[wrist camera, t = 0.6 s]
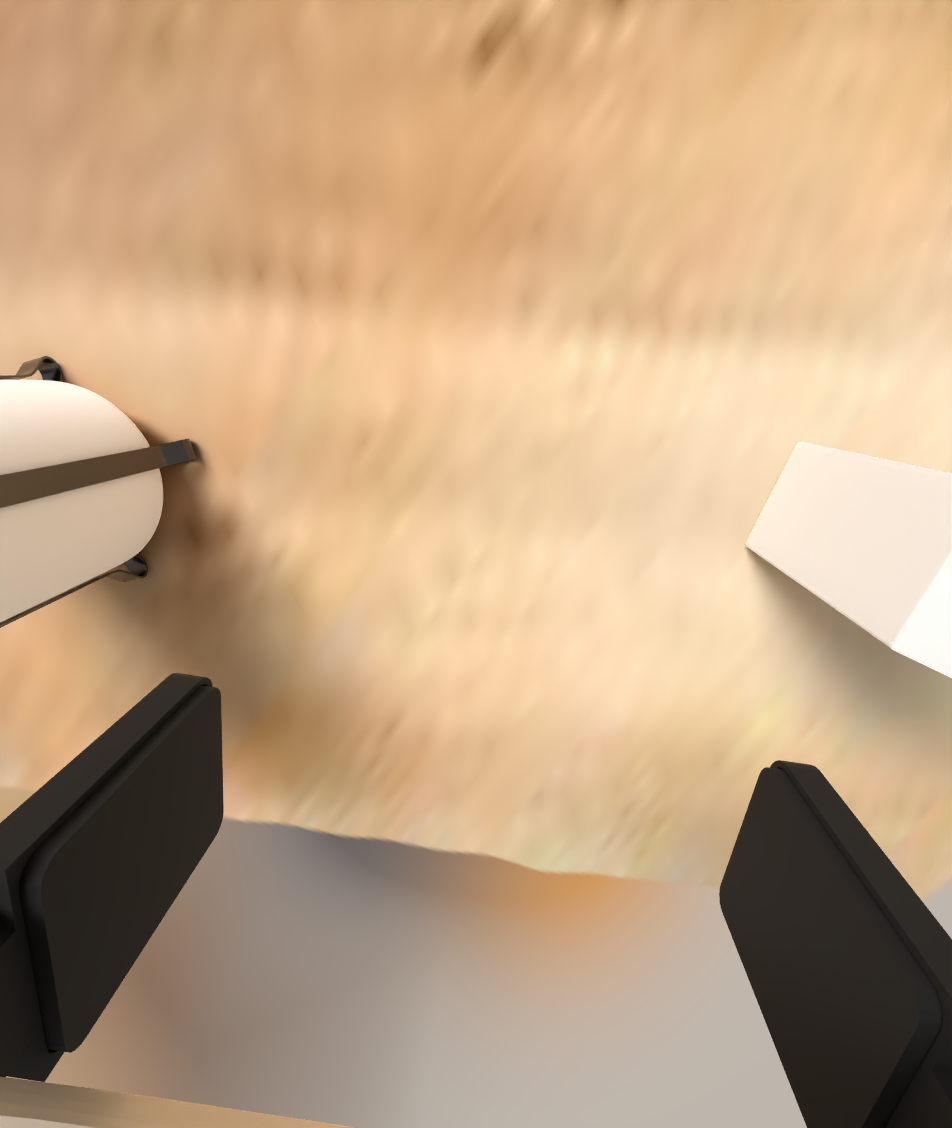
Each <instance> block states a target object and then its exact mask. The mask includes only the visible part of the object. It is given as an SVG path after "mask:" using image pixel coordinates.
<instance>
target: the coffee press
mask: <svg viewBox="0 0 952 1128" xmlns="http://www.w3.org/2000/svg"><path fill="white" fill-rule="evenodd" d="M37 370H39V371H40V373H41V375H42V377H43V380H19V379H23V378H26V377H29V376H32V375H33V374H34V373H35V372H36V371H37ZM62 376H63V375H62V371H61V368H60V366H59V365H58V364H57V362H56V361H54V360H53V359H52V358H50V357H47V356H44V357H41V358H37V359H34V360H31V361H27V362H24V363H23V364H22V366H21V367H20V369H19V371H18V372H17V374H16V375H15V376H0V628H1V627H3V626H5V625H7V624H9V623H11V622H13V621H15V620H17V619H19V618H21V617H23V616H25V615H27V614H29V613H32V612H34V611H36V610H38V609H40V608H42V607H44V606H46V605H48V604H50V603H52V602H54V601H56V600H58V599H60V598H62V597H64V596H66V595H68V594H71V593H73V592H75V591H77V590H79V589H81V588H83V587H85V586H87V585H89V584H91V583H93V582H95V581H97V580H99V579H101V578H104V577H110V578H113V579H116V580H119V581H122V582H127V581H131V580H136V579H140V578H144V577H145V576H146V575H147V572H148V567H147V564H146V562H145V560H144V559H143V558H141V557H140V556H138V555H137V553H139V552H140V551H141V550H142V549H143V548H144V547H145V546H146V544H147V543H148V542H149V541H150V539H151V538H152V536H153V534H154V532H155V530H156V528H157V526H158V523H159V520H160V517H161V513H162V507H163V484H162V478H161V473H160V470H159V468H162V467H166V466H170V465H174V464H178V463H182V462H186V461H190V460H193V459H197V458H196V455H195V452H194V450H193V447H192V445H191V442H190V440H189V439H185V440H180V441H176V442H171V443H167V444H162V445H158V446H153V447H150V445H149V444H148V442H147V440H146V439H145V437H144V436H143V434H142V433H141V432H140V430H139V429H138V428H137V426H136V425H135V424H134V423H133V422H132V421H131V420H130V419H129V418H128V417H127V416H126V415H125V414H124V413H123V412H122V411H121V410H120V409H118V408H117V407H116V406H115V405H113V404H112V403H110V402H109V401H107V400H106V399H104V398H103V397H101V396H99V395H97V394H96V393H94V392H91V391H89V390H87V389H85V388H82V387H79V386H76V385H73V384H69V383H64V382H61V381H62ZM122 563H125V564H126V565H127V566H128V568H129V571H130V572H127V571H123V570H115V571H111V572H107V571H109V570H111V569H113V568H115V567H117V566H118V565H120V564H122ZM104 572H107V573H104Z"/></svg>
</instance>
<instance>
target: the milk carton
mask: <svg viewBox="0 0 952 1128" xmlns="http://www.w3.org/2000/svg"><path fill="white" fill-rule="evenodd" d="M746 547H748V548H749V549H750V550H752V551H753V552H755V553H756V554H757V555H759V556H760V557H762V558H763V559H765V560H766V561H767V562H769V563H770V564H772V565H773V566H775V567H776V568H777V569H779V570H780V571H782V572H783V573H785V574H786V575H787V576H789V577H790V578H792V579H793V580H794V581H796V582H797V583H799V584H800V585H802V586H803V587H804V588H806V589H807V590H809V591H810V592H812V593H813V594H814V595H816V596H817V597H819V598H820V599H821V600H823V601H824V602H826V603H827V604H829V605H830V606H831V607H833V608H834V609H836V610H837V611H839V612H840V613H841V614H843V615H844V616H846V617H847V618H848V619H850V620H851V621H853V622H854V623H856V624H857V625H858V626H860V627H861V628H863V629H864V630H866V631H867V632H868V633H870V634H871V635H873V636H874V637H875V638H877V639H878V640H880V641H881V642H883V643H884V644H885V645H887V646H888V647H890V648H891V649H892V650H894V651H896V652H898V653H900V654H902V655H904V656H906V657H908V658H910V659H912V660H915V661H917V662H919V663H921V664H923V665H925V666H927V667H929V668H931V669H933V670H935V671H937V672H940V673H942V674H944V675H946V676H948V677H950V678H952V473H949V472H945V471H940V470H935V469H930V468H926V467H921V466H916V465H911V464H907V463H902V462H897V461H892V460H888V459H883V458H878V457H873V456H869V455H864V454H859V453H854V452H849V451H845V450H840V449H835V448H830V447H826V446H821V445H816V444H811V443H807V442H798V443H797V444H796V446H795V448H794V450H793V451H792V453H791V455H790V457H789V459H788V461H787V463H786V465H785V467H784V469H783V471H782V473H781V475H780V477H779V479H778V481H777V482H776V484H775V486H774V488H773V490H772V492H771V494H770V496H769V498H768V500H767V502H766V504H765V506H764V508H763V510H762V512H761V514H760V516H759V517H758V519H757V521H756V523H755V525H754V527H753V529H752V531H751V533H750V535H749V537H748V539H747V541H746Z"/></svg>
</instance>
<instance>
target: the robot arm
mask: <svg viewBox="0 0 952 1128" xmlns="http://www.w3.org/2000/svg"><path fill="white" fill-rule="evenodd" d="M222 818H223V768H222V723H221V693H220V690H219V689H218V688H215V687H212V683H211V680H210V679H208V678H206V677H199V676H192V675H186V674H179V673H174V674H171V675H170V676H168V677H167V678H166V679H165V680H164V681H163V682H161V683H160V684H159V685H158V686H157V687H156V688H155V689H153V690H152V691H151V692H150V693H149V694H148V695H147V696H145V697H144V698H143V699H142V700H141V701H140V702H139V703H137V704H136V705H135V706H134V707H133V708H132V709H131V710H129V711H128V712H127V713H126V714H125V715H124V716H122V717H121V718H120V719H119V720H118V721H117V722H116V723H114V724H113V725H112V726H111V727H110V728H109V729H108V730H106V731H105V732H104V733H103V734H102V735H101V736H100V737H98V738H97V739H96V740H95V741H94V742H93V743H92V744H90V745H89V746H88V747H87V748H86V749H85V750H84V751H82V752H81V753H80V754H79V755H78V756H77V757H75V758H74V759H73V760H72V761H71V762H70V763H69V764H67V765H66V766H65V767H64V768H63V769H62V770H61V771H59V772H58V773H57V774H56V775H55V776H54V777H53V778H51V779H50V780H49V781H48V782H47V783H46V784H45V785H43V786H42V787H41V788H40V789H39V790H38V791H37V792H35V793H34V794H33V795H32V796H31V797H30V798H29V799H28V800H26V801H25V802H24V803H23V804H22V805H20V806H19V807H18V808H17V809H16V810H15V811H14V812H12V813H11V814H10V815H9V816H8V817H7V818H6V819H4V820H3V821H2V822H1V823H0V1128H355V1127H349V1126H342V1125H335V1124H329V1123H322V1122H315V1121H309V1120H301V1119H296V1118H289V1117H283V1116H275V1115H269V1114H263V1113H256V1112H249V1111H243V1110H236V1109H229V1108H223V1107H216V1106H209V1105H203V1104H196V1103H189V1102H183V1101H176V1100H169V1099H163V1098H157V1097H150V1096H143V1095H136V1094H130V1093H122V1092H115V1091H107V1090H99V1089H91V1088H84V1087H76V1086H68V1085H60V1084H52V1083H45V1080H46V1079H47V1077H48V1076H49V1074H50V1073H51V1071H52V1070H53V1068H54V1067H55V1065H56V1064H57V1062H58V1061H59V1059H60V1058H61V1056H62V1055H63V1053H64V1052H70V1053H71V1052H72V1051H74V1050H76V1049H77V1048H78V1047H79V1046H80V1045H81V1044H82V1042H83V1041H84V1039H85V1038H86V1036H87V1035H88V1034H89V1032H90V1030H91V1029H92V1027H93V1026H94V1024H95V1023H96V1021H97V1020H98V1018H99V1017H100V1015H101V1013H102V1012H103V1010H104V1009H105V1007H106V1006H107V1004H108V1003H109V1001H110V999H111V998H112V996H113V995H114V993H115V992H116V990H117V989H118V987H119V986H120V984H121V982H122V981H123V979H124V978H125V976H126V975H127V973H128V972H129V970H130V968H131V967H132V965H133V964H134V962H135V961H136V959H137V957H138V956H139V954H140V953H141V951H142V950H143V948H144V947H145V945H146V944H147V942H148V940H149V939H150V937H151V936H152V934H153V933H154V931H155V930H156V928H157V927H158V925H159V923H160V922H161V920H162V919H163V917H164V916H165V914H166V912H167V911H168V909H169V908H170V906H171V905H172V903H173V902H174V900H175V899H176V897H177V895H178V894H179V892H180V891H181V889H182V888H183V886H184V885H185V883H186V882H187V880H188V878H189V877H190V875H191V874H192V872H193V871H194V869H195V867H196V866H197V864H198V863H199V861H200V860H201V858H202V857H203V855H204V854H205V852H206V850H207V849H208V847H209V846H210V844H211V843H212V841H213V840H214V838H215V836H216V835H217V833H218V831H219V828H220V826H221V822H222ZM719 895H720V905H721V909H722V912H723V915H724V918H725V920H726V923H727V925H728V928H729V930H730V932H731V935H732V938H733V940H734V943H735V945H736V948H737V951H738V953H739V956H740V958H741V961H742V963H743V966H744V968H745V971H746V973H747V976H748V978H749V981H750V983H751V986H752V989H753V991H754V994H755V996H756V998H757V1001H758V1004H759V1006H760V1009H761V1011H762V1014H763V1017H764V1019H765V1022H766V1024H767V1027H768V1029H769V1032H770V1034H771V1037H772V1039H773V1042H774V1045H775V1047H776V1049H777V1052H778V1055H779V1057H780V1060H781V1062H782V1065H783V1067H784V1070H785V1072H786V1075H787V1078H788V1080H789V1082H790V1085H791V1088H792V1090H793V1093H794V1095H795V1098H796V1100H797V1103H798V1105H799V1108H800V1111H801V1113H802V1116H803V1118H804V1121H805V1123H806V1126H807V1128H952V939H951V938H950V937H949V935H948V934H947V933H946V931H945V930H944V929H943V928H942V926H941V925H940V924H939V923H938V921H937V920H936V919H935V917H934V916H933V915H932V914H931V912H930V911H929V910H928V909H927V907H926V906H925V905H924V903H923V902H922V901H921V899H920V898H919V897H918V896H917V894H916V893H915V892H914V891H913V889H912V888H911V887H910V885H909V884H908V883H907V882H906V880H905V879H904V878H903V876H902V875H901V874H900V873H899V871H898V870H897V869H896V868H895V866H894V865H893V864H892V862H891V861H890V860H889V859H888V857H887V856H886V855H885V853H884V852H883V851H882V850H881V848H880V847H879V846H878V844H877V843H876V842H875V841H874V839H873V838H872V837H871V836H870V834H869V833H868V832H867V830H866V829H865V828H864V827H863V825H862V824H861V823H860V821H859V820H858V819H857V818H856V816H855V815H854V814H853V813H852V811H851V810H850V809H849V807H848V806H847V805H846V804H845V802H844V801H843V800H842V798H841V797H840V796H839V795H838V793H837V792H836V791H835V790H834V788H833V787H832V786H831V784H830V783H829V782H828V781H827V779H826V778H825V777H824V775H823V774H822V773H821V772H820V770H818V769H817V768H816V767H815V766H812V765H808V764H801V763H794V762H787V761H780V760H779V761H775V762H774V763H773V764H772V765H771V767H770V768H764V769H763V770H762V771H761V773H760V775H759V777H758V780H757V783H756V786H755V789H754V792H753V794H752V797H751V800H750V803H749V806H748V809H747V812H746V814H745V817H744V820H743V823H742V826H741V829H740V832H739V834H738V837H737V840H736V843H735V846H734V849H733V851H732V854H731V857H730V860H729V863H728V866H727V869H726V871H725V874H724V877H723V880H722V883H721V886H720V894H719ZM6 1076H9V1077H16V1078H22V1079H28V1080H21V1079H13V1078H6ZM29 1080H34V1081H29ZM37 1081H41V1082H37Z"/></svg>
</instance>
